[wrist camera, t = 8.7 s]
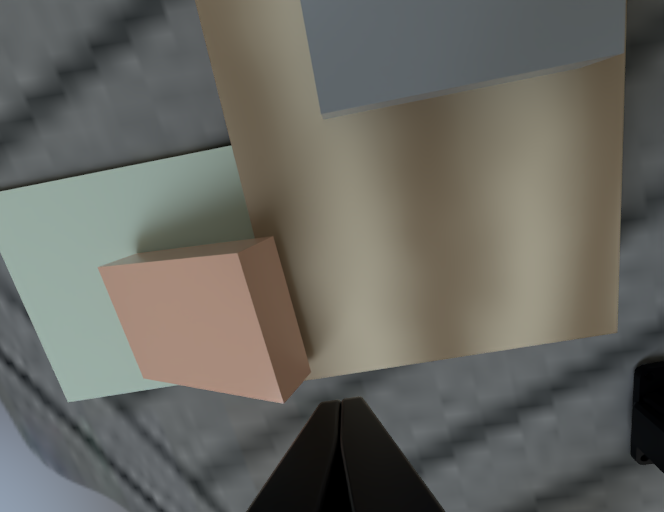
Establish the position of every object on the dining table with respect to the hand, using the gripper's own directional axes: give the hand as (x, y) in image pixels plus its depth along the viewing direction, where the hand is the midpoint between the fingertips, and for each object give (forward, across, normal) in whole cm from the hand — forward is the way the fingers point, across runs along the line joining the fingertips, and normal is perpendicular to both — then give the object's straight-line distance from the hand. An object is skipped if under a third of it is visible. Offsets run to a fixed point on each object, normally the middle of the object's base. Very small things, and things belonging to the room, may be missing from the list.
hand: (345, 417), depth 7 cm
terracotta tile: (+9, +6, +1) cm, 11 cm away
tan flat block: (+12, -4, -5) cm, 13 cm away
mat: (+12, +10, 0) cm, 16 cm away
